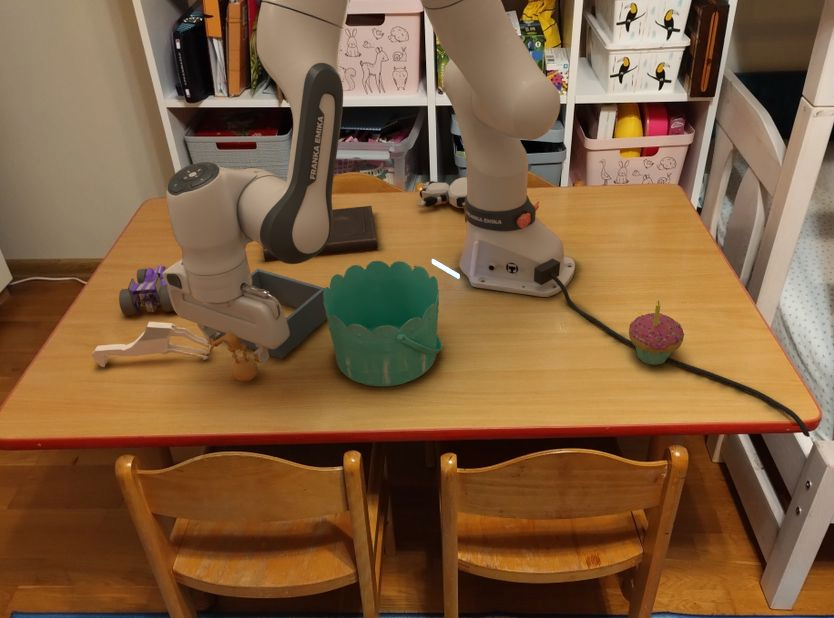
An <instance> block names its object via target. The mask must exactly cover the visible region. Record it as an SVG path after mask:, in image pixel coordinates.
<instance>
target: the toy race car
mask: <svg viewBox="0 0 834 618" xmlns="http://www.w3.org/2000/svg"><path fill="white" fill-rule="evenodd" d="M165 270H166V266H165V265H157V266H156V267H155V268H153V267H147V268H139V269H137V271H136V281H137V283H136V281H135V278H131V279H130V281H129V284H128V286H127V288H122V289H121V290H119V293H118V302H119V308H120V311H121V312H122V314H123V315H124V316H135V315H136V316H137V315H139V314H140V312H141V308H145V309H146V312H147V313H155V312H156V310H157V308H158V306H161V308H162V311H163V312H165V313H168V312H175V310H174V308H173V306H172V303H171V300H170V297H169V293H168V289H167V286H168V284H166V283H165V281H164V279H163V276H162V273H163V272H164V271H165ZM140 296H142V299H141V297H140ZM142 304H143V305H142Z"/></svg>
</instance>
